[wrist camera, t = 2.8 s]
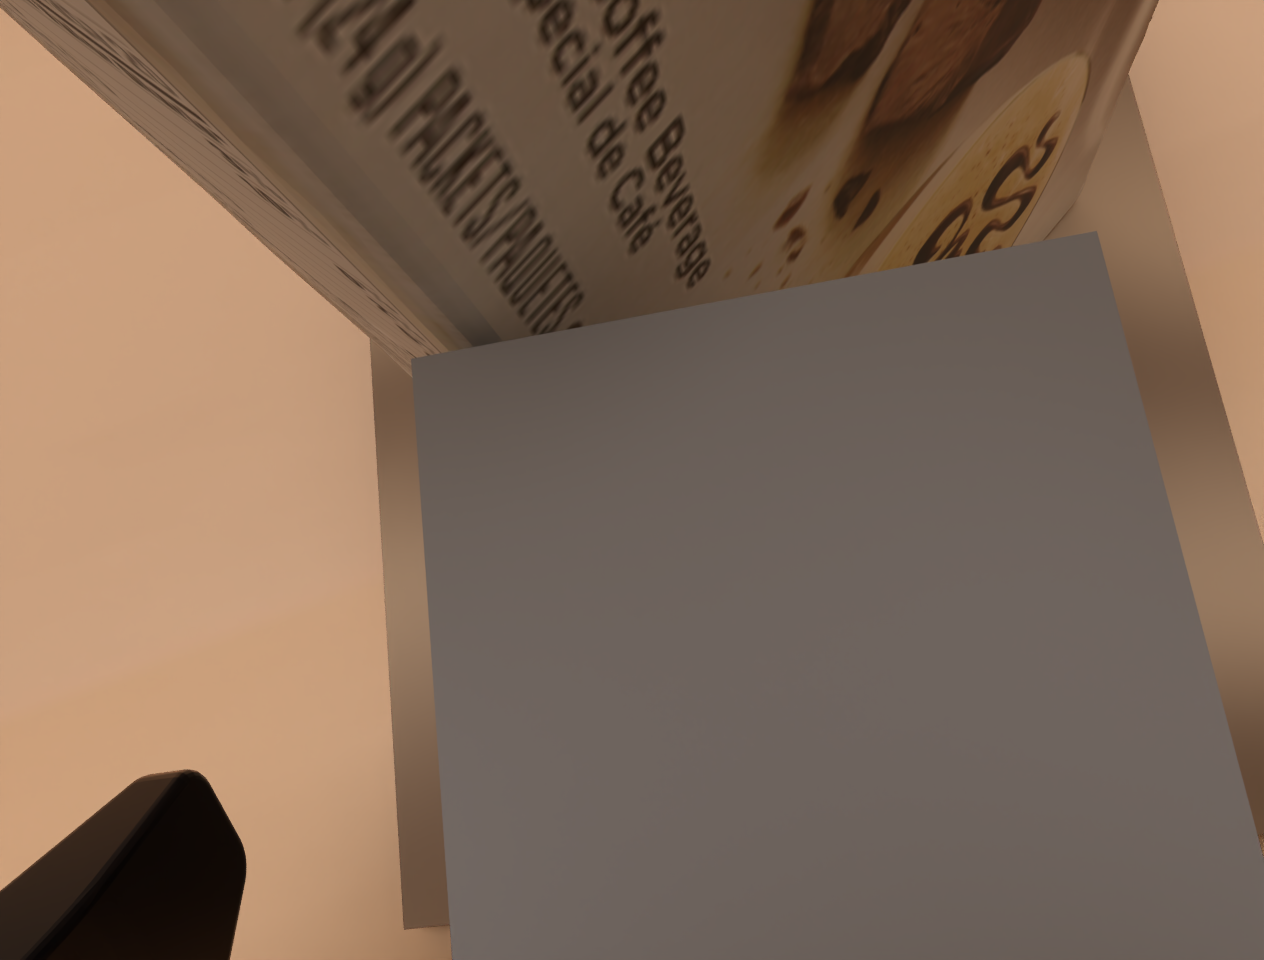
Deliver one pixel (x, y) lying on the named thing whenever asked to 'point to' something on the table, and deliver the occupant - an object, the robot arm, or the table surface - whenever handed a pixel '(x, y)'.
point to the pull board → (837, 618)
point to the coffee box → (606, 140)
